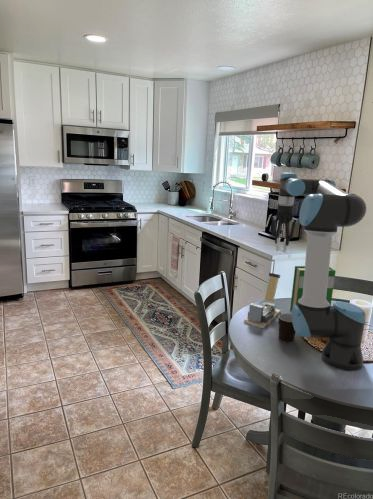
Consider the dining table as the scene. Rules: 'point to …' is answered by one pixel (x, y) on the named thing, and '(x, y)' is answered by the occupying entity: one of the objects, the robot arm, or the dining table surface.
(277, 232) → the robot arm
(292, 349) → the dining table surface
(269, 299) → the tan flat bar
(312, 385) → the dining table surface
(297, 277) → the hardback book
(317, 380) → the dining table surface
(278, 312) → the birch board
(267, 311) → the heat-sink block
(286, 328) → the coffee mug
